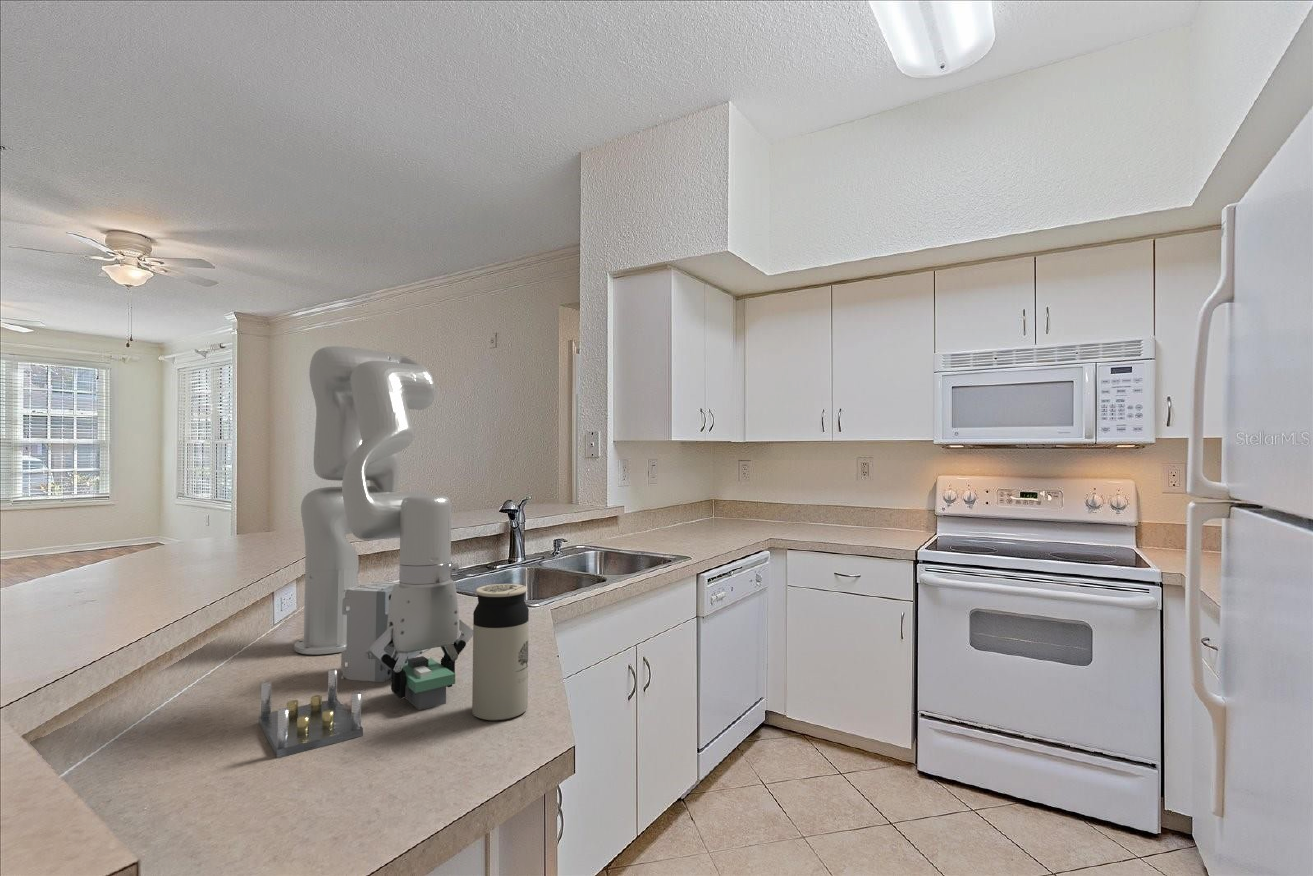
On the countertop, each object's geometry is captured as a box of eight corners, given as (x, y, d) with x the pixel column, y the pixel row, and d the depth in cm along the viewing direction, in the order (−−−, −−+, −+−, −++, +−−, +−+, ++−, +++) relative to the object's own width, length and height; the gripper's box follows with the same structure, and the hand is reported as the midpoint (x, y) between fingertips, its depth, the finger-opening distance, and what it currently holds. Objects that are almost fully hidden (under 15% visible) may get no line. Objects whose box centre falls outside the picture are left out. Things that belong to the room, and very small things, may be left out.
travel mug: (460, 717, 91) (462, 591, 92) (494, 698, 99) (495, 581, 100) (507, 725, 88) (508, 595, 89) (538, 705, 96) (539, 585, 97)
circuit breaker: (416, 684, 105) (418, 593, 105) (340, 678, 108) (342, 589, 108) (441, 670, 112) (442, 584, 113) (369, 665, 115) (370, 581, 115)
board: (393, 675, 100) (393, 659, 100) (430, 667, 104) (431, 652, 104) (415, 693, 93) (415, 675, 93) (455, 683, 97) (455, 667, 97)
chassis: (258, 722, 89) (259, 683, 90) (336, 705, 96) (336, 668, 96) (277, 758, 79) (278, 713, 79) (362, 735, 85) (363, 694, 85)
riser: (401, 694, 100) (401, 675, 100) (426, 689, 103) (427, 670, 103) (419, 710, 94) (419, 689, 94) (446, 703, 97) (446, 683, 97)
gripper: (468, 565, 108) (467, 672, 107) (359, 577, 96) (356, 696, 96) (487, 571, 102) (486, 684, 101) (374, 584, 91) (371, 711, 90)
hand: (423, 689), depth 98 cm, fingers open, 6 cm apart
